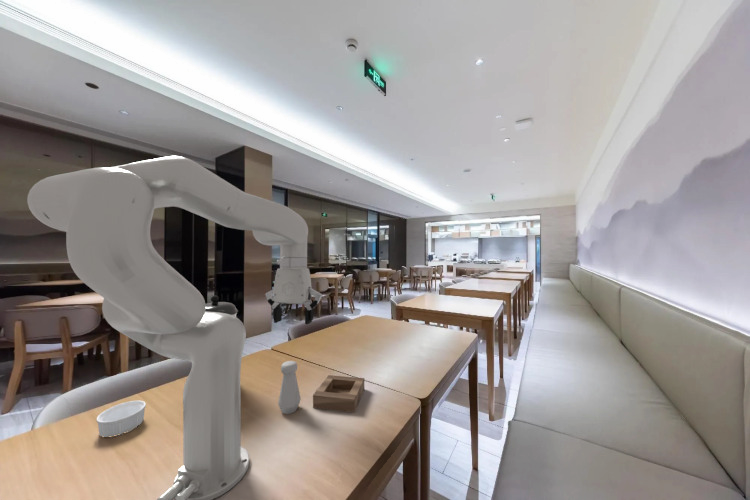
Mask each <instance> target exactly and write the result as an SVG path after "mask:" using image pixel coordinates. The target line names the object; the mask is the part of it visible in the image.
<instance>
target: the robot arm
mask: <svg viewBox="0 0 750 500" xmlns="http://www.w3.org/2000/svg"><path fill="white" fill-rule="evenodd" d="M26 201H27V206H28V209H29V210H30V212H31V214H32V215H33V216H34V217H35V218H36V219H37V220H38V221H40V223H42V224H44V225H46V226H47V227H49V228H52V229H55V230H57V231H61V232H65V233H66V234H65V235H66V236H65V237H66V238H65V239H66V241H65V242H66V243H65V245H66V253H67V258H68V259H67V260H68V262H69V264H70V267H71V269H72V270H73V272H74V274H75V275H76V276H77V278H78V279H79V280H80V281H81V282H83V283H84V284H85V285H86V286H87V287H89V289H91V290H93V291H94V292H95V293H97V294H98V295H99V296H100V297H102V298H103V300H102V306H101V310H102V315H103V318H104V319H105V321H106V322H107V324H108V325H110V326H111V328H112V329H114V330H116V331H118V332H119V333H120V334H122V335H124V336H126V337H128V338H129V339H131V340H133V341H134V342H137V343H138V344H139V345H141V346H144V347H145V348H147V349H149V350H150V351H152V352H154V353H156V354H158V355H160V356H162V357H165V358H170V359H175V360H180V361H186V362H190V363H191V369H190V372H189V374H188V375H187V378H186V380H185V383H184V386H183V393H182V396H183V397H182V406H183V407H182V409H183V410H182V411H183V415H182V416H183V417H182V419H183V420H182V421H183V422H182V423H183V426H182V427H183V428H182V429H183V431H182V433H183V438H182V441H183V443H182V445H183V450H182V451H183V459H182V461H183V465H182V466H181V467H180V468H178V470H177V474H176V477H175V479H174V480H173V483H172V486H170V487H169V488H168V489H167V490H166V491H165V492H163V493H162V494H161V495H160V496H159V497H158V498H157V499H156V500H214V499H215V500H216V499H217V498H219V497H221V496H223V494H226V493H227V492H228V491H230V490H231V489H232V488H234V487H235V486H236V485H237V484H238V483H239V482H240V481H241V479H242V478H243V477H244V476H245V474H246V473H247V471H248V468H249V466H250V464H249V463H250V455H249V452H248V450H247V449H246V448H245V447H243V446H241V444H242V443H241V439H242V438H241V437H242V435H241V429H242V427H241V426H242V425H241V422H242V421H241V416H242V415H241V413H242V412H241V410H242V409H241V369H242V368H241V367H242V359H243V353H244V348H245V343H246V336H247V335H246V334H247V333H246V327H245V325H244V323H243V322H242V320H240V318H238V316H236V317H235V316H233V315H230V314H226V313H219V312H206V311H205V309H206V305H205V304H206V301H205V298H204V296H203V295H202V294H201V293H202V292H200V290H198V289H197V287H195V286H194V285H193V284H192V283H191V282H190V281H188V280H187V279H186V278H185V276H183V275H182V274H180V273H179V272H178V271H177V270H176V269H175V268H174V267H173V266H171V264H169V263H168V262H167V261H166V260H165V259H164V258H163V257H162V256H161V255H160V254H159V253H158V251H157V250H156V249H155V246H154V245H153V243H152V242H153V241H152V238H151V225H152V220H153V216H154V212H155V209H159V208H171V207H175V208H180V209H183V210H185V211H188V212H190V213H192V214H195V215H197V216H200V217H202V218H205V219H206V220H209V221H212V222H213V223H216V224H219V225H221V226H223V227H225V228H230V229H236V230H241V231H252V235H253V237H254V239H255V241H257V242H258V243H260V244H261V245H265V246H279V247H280V252H279V253H280V258H279V259H277V260H276V265H279V268H276V269H277V270H276V273H275V278H274V284H273V289H271V290H269V291H267V292H266V293H265V298H266V300H267V302H268V304H269V305H270V306H271V309H272V313H273V315H272V319H273V323H274V324H277V323H278V322H282V320H283V319H282V318H283V316H282V315H283V312H282V311H283V308H282V306H281V305H282V304H286V305H287V304H291V305H301V304H302V305H304V307H305V308H306V310H305V312H304V324H305V325H309V324H311V323H312V322H313V319H314V309H315V308H316V307H317V305H318V304H319V303H320V301H321V299H322V297H323V294H322V293H321V292H319V291H317V290H315V289H314V288H312V278H311V272H310V268H308V235H309V227H308V226H309V225H308V224H307V222H306V220H305V219H304V218H303V217H302V216H301V215H300V214H299V213H298V212H296V211H294V210H293V209H292V208H289V207H288V206H286V205H285V204H281V203H279V202H277V201H273V200H269V199H267V198H264V197H260V196H257V195H254V194H251V193H248V192H245V191H243V190H241V189H239V188H238V187H237V186H235V185H233V184H232V183H230V182H228V181H227V180H225V179H224V178H221V176H219V175H217V174H215V173H214V172H212V171H211V170H209V169H207V168H205V167H204V166H203V165H201V164H199V163H198V162H197V161H194V160H193V159H191V158H187V157H183V156H179V155H170V156H163V157H157V158H153V159H151V158H150V159H146V160H141V161H136V162H131V163H126V164H122V165H116V166H111V167H107V166H106V167H93V168H87V169H86V168H85V169H80V170H77V171H71V172H67V173H61V174H60V173H59V174H56V175H52V176H47V177H44V178H43V179H40V180H39V181H38V182H36V183H34V185H33V186H32V187H31V188H30V189H29V192H28V194H27V200H26ZM312 296H313V297H314V300H313V301H312Z"/></svg>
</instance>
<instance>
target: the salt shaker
mask: <svg viewBox="0 0 750 500" xmlns="http://www.w3.org/2000/svg"><path fill="white" fill-rule="evenodd" d="M297 370H298V363H297V362H296V361H294V360H287V361H285V362H283V363H282V364H281V366H280V371H281V373H282V374H283V375H282V380H281V381H282V382H281V387H280V392H279V397H278V403H277V404H278V407H279V410H280V411H281V413H282V414H284V415H285V414H286V415H291V414H293V413H295V412H296V411H297V410H298V408H299V404H301V403H300V402H301V400H302V398H301V394H300V393H301V392H300V389H299V384H298V378H297V375H296V372H297Z"/></svg>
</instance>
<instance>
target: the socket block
mask: <svg viewBox="0 0 750 500" xmlns="http://www.w3.org/2000/svg"><path fill="white" fill-rule="evenodd" d="M364 391H365V378H364V377H356V376H355V377H354V376H343V375H331V374H329V375H327V377H326V378H324V380H323V382H321V384H320V386H318V388H317V389H316V390H315V392H314V393H313V394H312V408H313V409H320V410H331V411H339V412H348V413H355V412H356V410H357V407H358V405H359V403H360V400H361V398H362V396H363V394H364Z"/></svg>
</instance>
